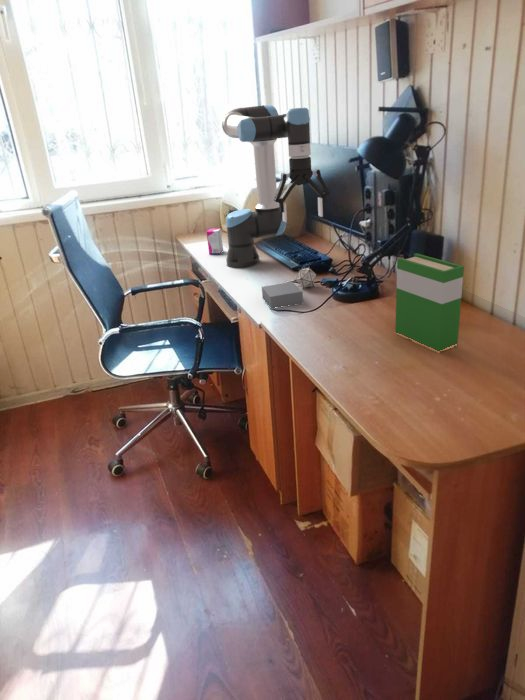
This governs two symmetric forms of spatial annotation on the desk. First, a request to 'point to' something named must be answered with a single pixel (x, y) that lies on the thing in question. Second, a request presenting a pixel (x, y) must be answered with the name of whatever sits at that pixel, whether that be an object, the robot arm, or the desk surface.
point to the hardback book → (429, 300)
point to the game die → (306, 277)
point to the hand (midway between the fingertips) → (302, 218)
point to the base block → (282, 295)
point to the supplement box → (214, 241)
